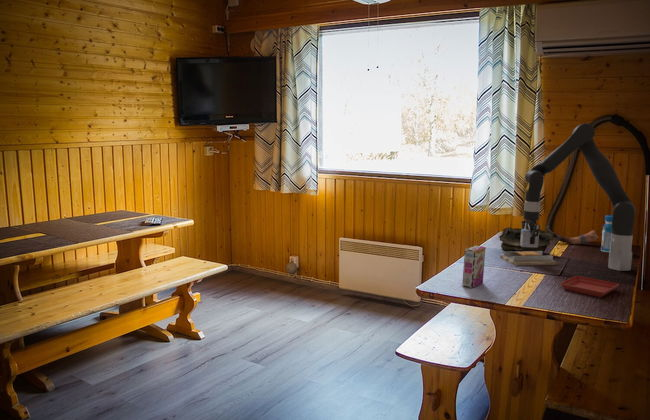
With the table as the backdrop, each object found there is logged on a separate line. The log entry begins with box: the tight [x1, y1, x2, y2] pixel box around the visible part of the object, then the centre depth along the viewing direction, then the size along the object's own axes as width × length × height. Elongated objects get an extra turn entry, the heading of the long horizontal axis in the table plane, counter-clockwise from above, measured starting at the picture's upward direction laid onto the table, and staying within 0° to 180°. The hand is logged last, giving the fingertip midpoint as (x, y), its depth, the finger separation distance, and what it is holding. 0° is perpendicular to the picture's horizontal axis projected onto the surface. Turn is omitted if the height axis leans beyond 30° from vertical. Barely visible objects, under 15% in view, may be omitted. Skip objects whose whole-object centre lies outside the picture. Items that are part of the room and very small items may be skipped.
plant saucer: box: [560, 275, 620, 298], centre depth 237 cm, size 18×18×3 cm
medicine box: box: [520, 228, 539, 248], centre depth 283 cm, size 8×4×9 cm, turn 84°
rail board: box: [499, 254, 557, 267], centre depth 284 cm, size 16×22×2 cm
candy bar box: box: [461, 245, 486, 289], centre depth 240 cm, size 11×5×16 cm, turn 141°
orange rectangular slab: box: [517, 251, 540, 256], centre depth 284 cm, size 7×9×1 cm
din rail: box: [503, 250, 554, 261], centre depth 284 cm, size 11×21×2 cm, turn 99°
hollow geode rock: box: [498, 226, 555, 254], centre depth 306 cm, size 28×13×15 cm
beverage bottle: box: [600, 214, 613, 253], centre depth 309 cm, size 8×8×20 cm
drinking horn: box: [545, 225, 599, 245], centre depth 327 cm, size 5×29×10 cm, turn 78°
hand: (529, 242), depth 283 cm, fingers closed on medicine box, 5 cm apart
